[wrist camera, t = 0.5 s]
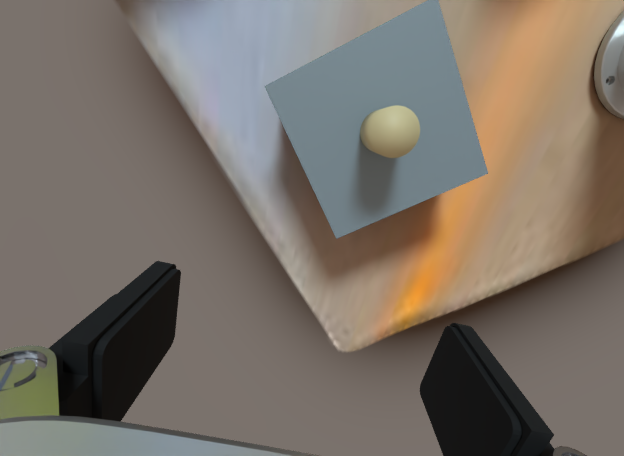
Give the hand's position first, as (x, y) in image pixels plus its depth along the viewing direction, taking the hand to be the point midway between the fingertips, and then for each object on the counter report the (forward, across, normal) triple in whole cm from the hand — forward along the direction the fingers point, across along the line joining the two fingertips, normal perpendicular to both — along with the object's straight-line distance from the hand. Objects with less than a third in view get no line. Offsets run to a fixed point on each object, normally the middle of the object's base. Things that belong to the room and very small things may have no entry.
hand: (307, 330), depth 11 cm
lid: (+20, -4, -7) cm, 22 cm away
